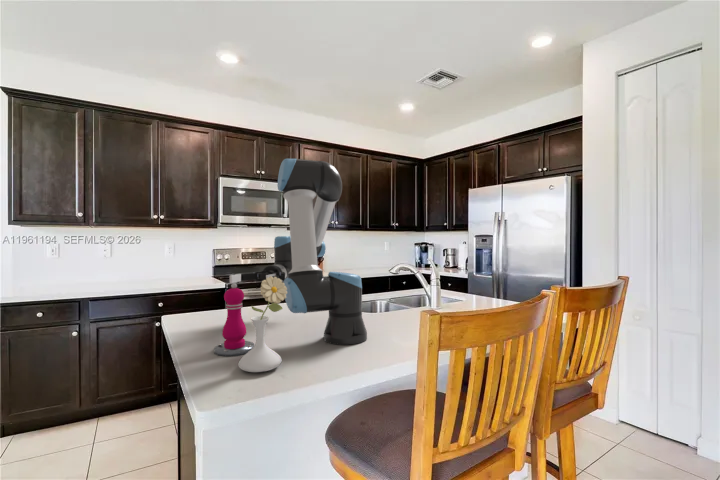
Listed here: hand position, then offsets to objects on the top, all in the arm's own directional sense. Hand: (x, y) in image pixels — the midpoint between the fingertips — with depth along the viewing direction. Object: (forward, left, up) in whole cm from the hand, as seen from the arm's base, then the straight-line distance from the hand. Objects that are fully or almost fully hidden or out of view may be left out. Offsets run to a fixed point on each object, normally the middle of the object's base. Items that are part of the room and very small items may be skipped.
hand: (248, 279), depth 123 cm
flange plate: (-1, +10, -21) cm, 24 cm away
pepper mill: (-1, +10, -20) cm, 23 cm away
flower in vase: (-16, +23, -21) cm, 36 cm away
